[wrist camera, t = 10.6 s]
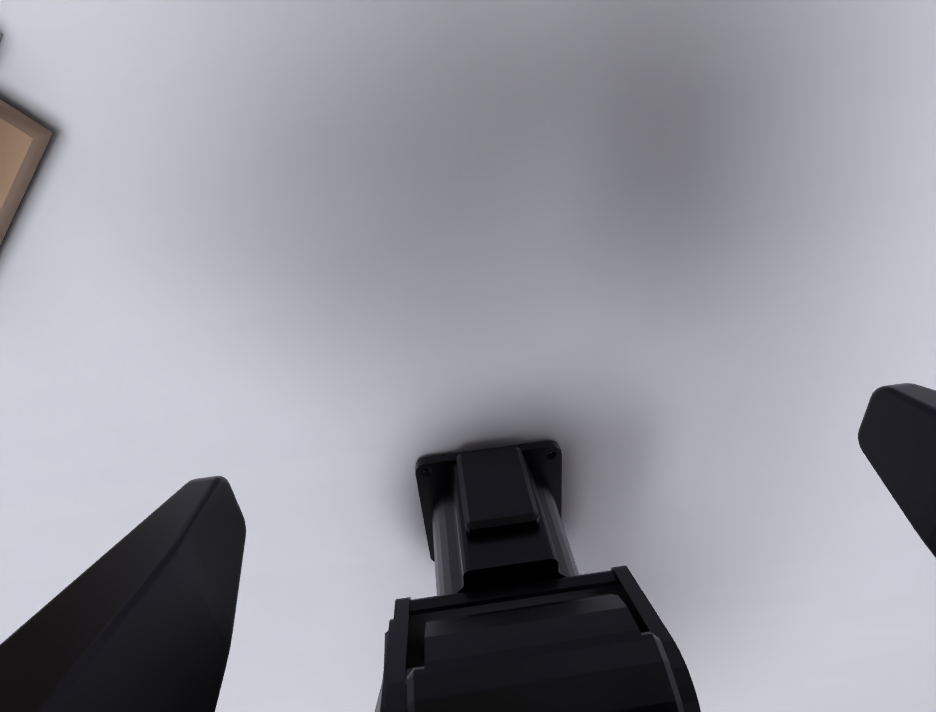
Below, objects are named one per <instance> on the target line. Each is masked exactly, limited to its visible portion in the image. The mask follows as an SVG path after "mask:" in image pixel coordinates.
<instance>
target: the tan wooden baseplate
mask: <svg viewBox="0 0 936 712" xmlns="http://www.w3.org/2000/svg"><path fill="white" fill-rule="evenodd" d="M52 134H53V133H52V132H51V131H49V130H48V129H46V128H44V127H43V126H41V125H40V124H38V123H37V122H35V121H33V120H32V119H30V118H29V117H27V116H26V115H24V114H22V113H21V112H19V111H18V110H16V109H15V108H13V107H11V106H10V105H8V104H7V103H5V102H4V101H2V100H0V245H1V242H2V240H3V238H4V236H5V234H6V232H7V230H8V228H9V225H10V223H11V221H12V219H13V217H14V215H15V213H16V211H17V208H18V206H19V204H20V202H21V200H22V198H23V196H24V194H25V191H26V189H27V187H28V185H29V183H30V181H31V179H32V177H33V174H34V172H35V170H36V168H37V166H38V164H39V162H40V160H41V157H42V155H43V153H44V151H45V149H46V147H47V145H48V143H49V140H50V138H51V136H52Z"/></svg>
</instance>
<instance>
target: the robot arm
mask: <svg viewBox="0 0 936 712" xmlns="http://www.w3.org/2000/svg"><path fill="white" fill-rule="evenodd" d="M858 441H859V445H860V447H861V449H862V451H863V453H864V454H865V456H866V457H867V459H868V460H869V462H870V463H871V465H872V466H873V468H874V469H875V471H876V472H877V474H878V475H879V477H880V478H881V480H882V481H883V483H884V484H885V486H886V487H887V489H888V490H889V492H890V493H891V495H892V496H893V498H894V499H895V501H896V502H897V504H898V505H899V507H900V508H901V510H902V511H903V513H904V514H905V516H906V517H907V519H908V520H909V522H910V523H911V525H912V526H913V528H914V529H915V531H916V532H917V533H918V535H919V536H920V538H921V539H922V541H923V542H924V543H925V545H926V546H927V547H928V549H929V550H930V551H931V552H932V554H933V555H934V556H935V558H936V391H935V390H932V389H929V388H926V387H922V386H919V385H916V384H911V383H903V384H895V385H888V386H882V387H880V388H877V389H876V390H875V391H874V392H873V394H872V396H871V398H870V401H869V404H868V406H867V409H866V412H865V415H864V417H863V420H862V423H861V426H860V428H859V432H858ZM549 451H553V452H552V453H550V454H546V453H547V452H549ZM561 466H562V454H561V450H560V447H559V445H558V444H557V443H556V442H554V441H544V442H536V443H529V444H522V445H514V446H507V447H499V448H492V449H484V450H477V451H470V452H462V453H455V454H447V455H440V456H433V457H425V458H422V459H420V460H418V461H417V463H416V466H415V473H416V479H417V485H418V490H419V496H420V501H421V507H422V512H423V518H424V524H425V529H426V535H427V540H428V546H429V551H430V557H431V559H432V560H433V561H434V562H435V572H436V588H437V596H433V597H427V598H420V599H413V600H411V598H410V597H409V598H402V599H396V601H395V610H394V619H391V620H390V622H389V630H388V631H387V632H386V633H385V654H384V673H383V680H382V685H381V689H380V693H379V697H378V701H377V705H376V709H375V712H701V711H700V706H699V702H698V699H697V695H696V692H695V688H694V685H693V682H692V679H691V677H690V674H689V671H688V669H687V666H686V664H685V661H684V659H683V657H682V655H681V653H680V651H679V649H678V647H677V645H676V643H675V642H674V640H673V638H672V637H671V635H670V634H669V632H668V630H667V629H666V627H665V626H664V624H663V623H662V621H661V619H660V618H659V616H658V615H657V613H656V612H655V610H654V608H653V607H652V605H651V604H650V602H649V601H648V599H647V598H646V596H645V594H644V593H643V591H642V590H641V588H640V587H639V585H638V583H637V582H636V580H635V579H634V577H633V576H632V574H631V572H630V571H629V569H628V568H627V566H620V567H613V568H611V570H610V571H603V572H597V573H590V574H583V575H579V573H578V570H577V567H576V564H575V561H574V558H573V555H572V551H571V548H570V545H569V542H568V539H567V536H566V533H565V530H564V527H563V524H562V521H561ZM424 468H430V470H423V469H424ZM245 537H246V526H245V520H244V517H243V514H242V512H241V510H240V507H239V505H238V503H237V500H236V498H235V495H234V493H233V491H232V488H231V486H230V484H229V482H228V480H227V479H226V478H224V477H222V476H213V477H206V478H198V479H194V480H191V481H189V482H188V483H187V484H185V485H184V486H183V487H182V488H181V489H180V490H178V491H177V492H176V493H175V494H174V495H173V496H171V497H170V498H169V499H168V500H167V501H166V502H165V503H163V504H162V505H161V506H160V507H159V508H158V509H156V510H155V511H154V512H153V513H152V514H151V515H149V516H148V517H147V518H146V519H145V520H144V521H143V522H141V523H140V524H139V525H138V526H137V527H136V528H134V529H133V530H132V531H131V532H130V533H129V534H128V535H126V536H125V537H124V538H123V539H122V540H121V541H119V542H118V543H117V544H116V545H115V546H114V547H112V548H111V549H110V550H109V551H108V552H107V553H106V554H104V555H103V556H102V557H101V558H100V559H99V560H97V561H96V562H95V563H94V564H93V565H92V566H91V567H89V568H88V569H87V570H86V571H85V572H84V573H82V574H81V575H80V576H79V577H78V578H77V579H75V580H74V581H73V582H72V583H71V584H70V585H69V586H67V587H66V588H65V589H64V590H63V591H62V592H60V593H59V594H58V595H57V596H56V597H55V598H54V599H52V600H51V601H50V602H49V603H48V604H47V605H45V606H44V607H43V608H42V609H41V610H40V611H38V612H37V613H36V614H35V615H34V616H33V617H32V618H30V619H29V620H28V621H27V622H26V623H25V624H23V625H22V626H21V627H20V628H19V629H18V630H17V631H15V632H14V633H13V634H12V635H11V636H10V637H8V638H7V639H6V640H5V641H4V642H3V643H1V644H0V712H215V709H216V705H217V701H218V697H219V693H220V688H221V684H222V680H223V676H224V672H225V668H226V664H227V659H228V655H229V650H230V645H231V639H232V633H233V626H234V619H235V612H236V604H237V597H238V589H239V582H240V575H241V567H242V560H243V552H244V545H245Z"/></svg>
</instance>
